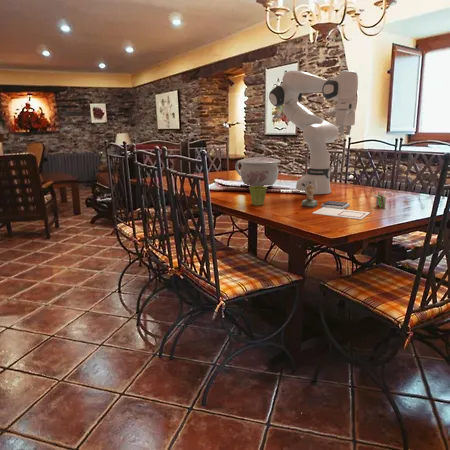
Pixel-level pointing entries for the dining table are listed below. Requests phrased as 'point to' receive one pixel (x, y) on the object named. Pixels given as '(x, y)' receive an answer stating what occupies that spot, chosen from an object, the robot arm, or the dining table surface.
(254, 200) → the plant pot
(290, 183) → the dining table surface
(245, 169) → the chamber pot
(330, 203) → the ink pad
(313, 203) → the stamp
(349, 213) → the paper sheet
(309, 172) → the robot arm
